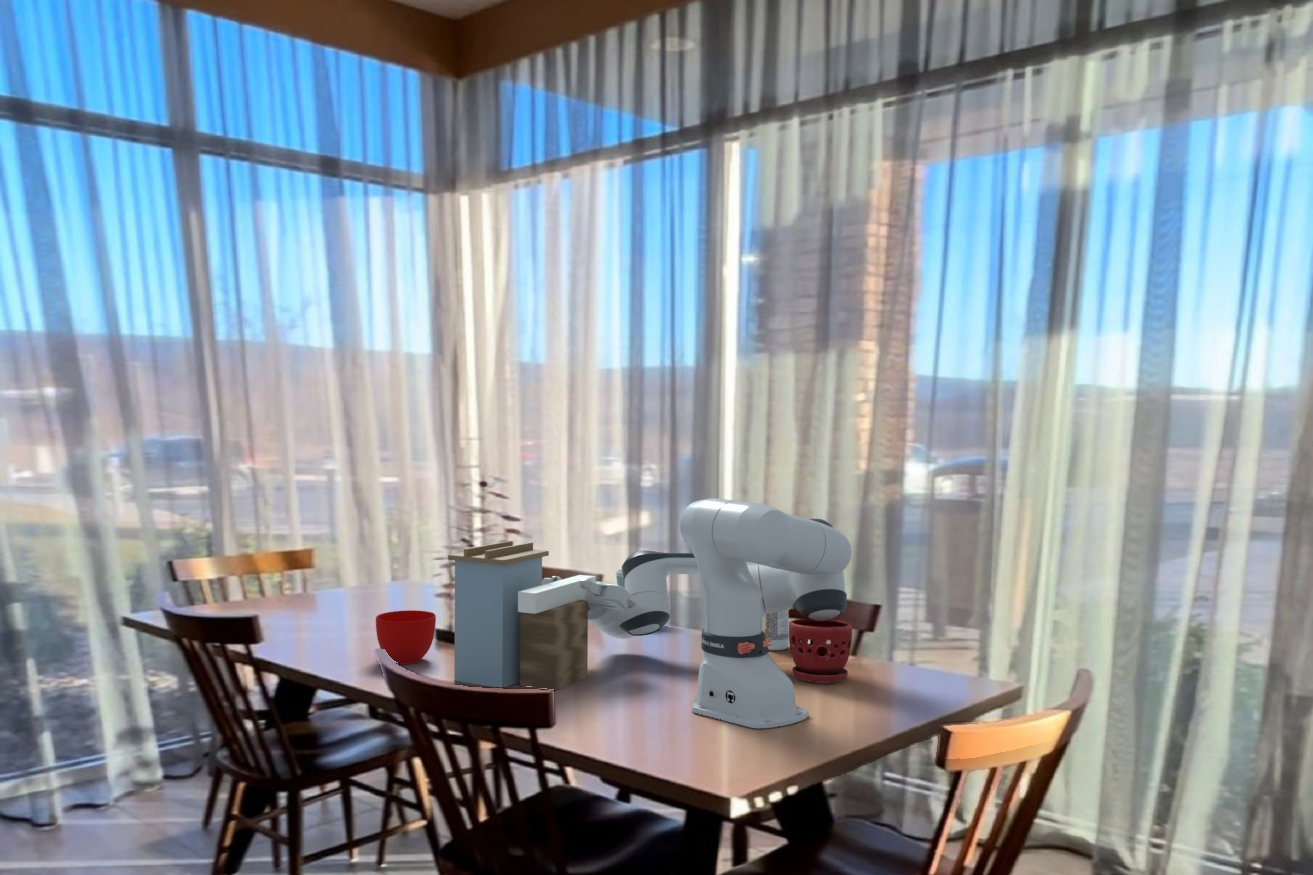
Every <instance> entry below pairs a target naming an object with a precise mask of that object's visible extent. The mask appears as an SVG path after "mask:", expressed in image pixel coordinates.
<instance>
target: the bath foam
mask: <svg viewBox="0 0 1313 875" xmlns="http://www.w3.org/2000/svg"><path fill="white" fill-rule="evenodd" d="M789 610H790V609H789ZM789 610H785V611H781V612H777V613H771V614H765V615H762V631H763V632H764V634H765V638H766V640H773V641H772V642H770V643H768V644H772V646H768V649H769V651H784V650H786V649H788V648H789V623H790V621H789V617H790V615H789V614H790V613H789ZM768 644H767V645H768Z"/></svg>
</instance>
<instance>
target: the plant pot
mask: <svg viewBox="0 0 1313 875" xmlns="http://www.w3.org/2000/svg"><path fill="white" fill-rule="evenodd" d="M852 637H853V626H852V624H851V623H850V622H846V621H842V620H838V619H837V620H836V619H830V620H825V621H817V620H809V619H807V618H801V619H800V618H799V619H794V620H790V621H789V627H788V646H789V649H790V650H789V651H790V654H791V657H792V660H793V662H794V664H795V666H793V667H792V669H791V672H792V674H793V676H794V677H796V679H799V680H801V681H805V682H808V683H813V684H814V683H815V684H830V683H831V684H832V685H833V683H834V684H836V683H838V682H839V683H840V682H841V681H842V682H843V681H844V680H845V679H846V678H847V677H848V675H849V671H848V669H845V666H846V665H847V663H848V660H849V658H850V655H851V648H852V643H853V642H852V641H853V640H852V639H853V638H852ZM828 641H830V643H828ZM831 684H830V685H831Z"/></svg>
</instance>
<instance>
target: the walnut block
mask: <svg viewBox="0 0 1313 875" xmlns="http://www.w3.org/2000/svg"><path fill="white" fill-rule="evenodd" d="M588 625H589V621H588V601H586V600H577V601H574V602H571V603H568V604H565V605H561V606H558V607H555V608H552V609H549V610H546V611H543V612H539V613H536V614H532V613H523V612H521V613H520V682H519V686H520V687H523V686H532V687H533V688H532V689H535V688H547V689H554V690H555V691H557V690H560V689H562V688H565V687H566V686H568V685H572V684H573V683H575V682H579V681H580V680H583V679H585V678H587V677H588V662H589V661H588V655H589V654H588V652H589V650H588V649H589V647H588V642H589V640H588V638H589V637H588V635H589V634H588V632H589V630H588V629H589V627H588Z"/></svg>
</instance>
